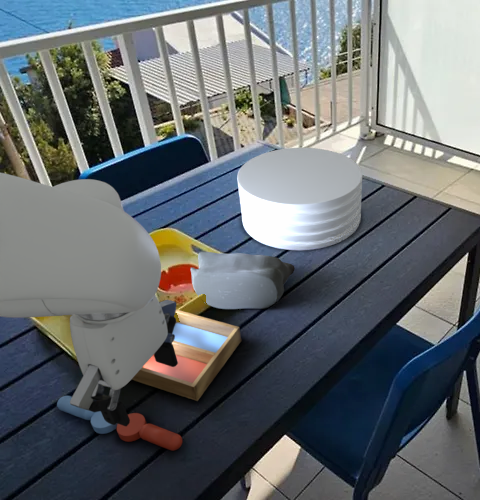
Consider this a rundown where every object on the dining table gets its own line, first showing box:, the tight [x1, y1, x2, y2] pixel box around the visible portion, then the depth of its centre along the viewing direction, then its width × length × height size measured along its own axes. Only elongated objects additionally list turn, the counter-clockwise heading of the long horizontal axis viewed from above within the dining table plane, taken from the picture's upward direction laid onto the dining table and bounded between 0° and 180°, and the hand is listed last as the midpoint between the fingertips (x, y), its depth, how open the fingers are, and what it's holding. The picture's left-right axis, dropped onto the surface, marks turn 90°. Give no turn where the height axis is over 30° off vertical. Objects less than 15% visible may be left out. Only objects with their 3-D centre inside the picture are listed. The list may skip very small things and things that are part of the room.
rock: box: [190, 251, 296, 310], centre depth 94 cm, size 18×11×8 cm, turn 88°
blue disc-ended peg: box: [56, 395, 117, 435], centre depth 72 cm, size 10×4×2 cm, turn 71°
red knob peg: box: [116, 412, 183, 452], centre depth 70 cm, size 10×4×2 cm, turn 69°
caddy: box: [131, 309, 242, 402], centre depth 81 cm, size 13×13×3 cm
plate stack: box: [236, 147, 363, 251], centre depth 116 cm, size 28×28×12 cm
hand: (144, 390), depth 64 cm, fingers open, 9 cm apart
